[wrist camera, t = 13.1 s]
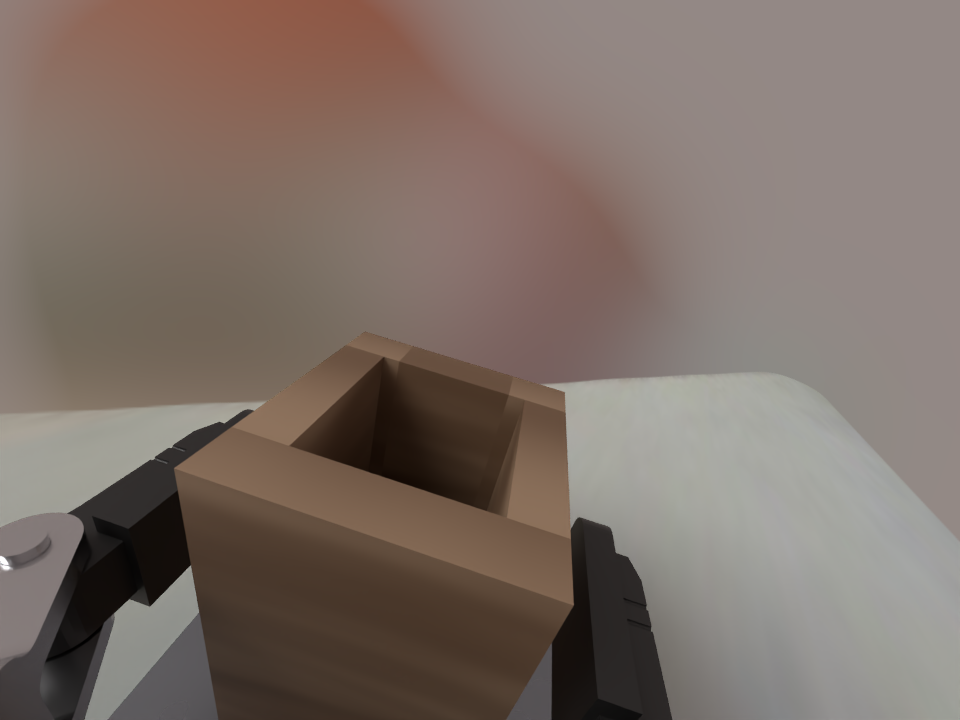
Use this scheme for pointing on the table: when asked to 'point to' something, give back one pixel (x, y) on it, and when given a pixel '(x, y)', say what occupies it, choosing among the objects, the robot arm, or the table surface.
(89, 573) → the robot arm
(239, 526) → the sleeve
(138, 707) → the base plate
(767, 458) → the table surface
